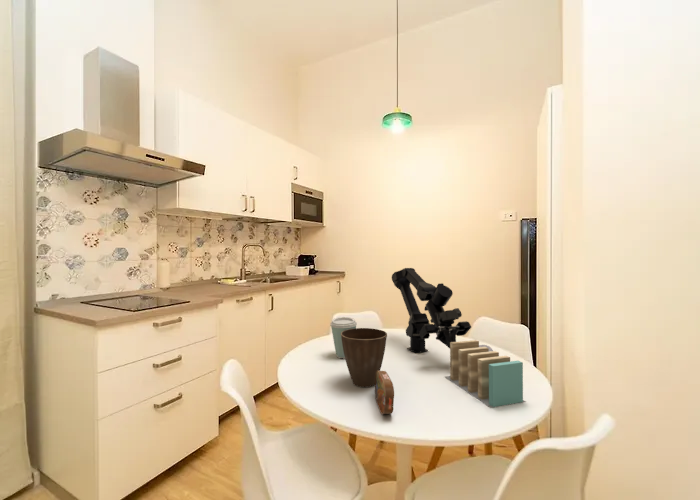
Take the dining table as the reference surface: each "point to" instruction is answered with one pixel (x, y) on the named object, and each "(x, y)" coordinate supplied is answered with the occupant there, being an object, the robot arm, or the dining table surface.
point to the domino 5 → (505, 383)
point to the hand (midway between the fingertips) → (455, 351)
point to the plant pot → (363, 354)
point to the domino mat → (474, 393)
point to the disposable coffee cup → (338, 327)
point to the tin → (384, 392)
